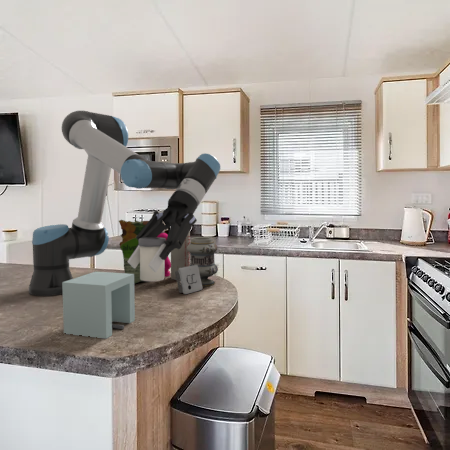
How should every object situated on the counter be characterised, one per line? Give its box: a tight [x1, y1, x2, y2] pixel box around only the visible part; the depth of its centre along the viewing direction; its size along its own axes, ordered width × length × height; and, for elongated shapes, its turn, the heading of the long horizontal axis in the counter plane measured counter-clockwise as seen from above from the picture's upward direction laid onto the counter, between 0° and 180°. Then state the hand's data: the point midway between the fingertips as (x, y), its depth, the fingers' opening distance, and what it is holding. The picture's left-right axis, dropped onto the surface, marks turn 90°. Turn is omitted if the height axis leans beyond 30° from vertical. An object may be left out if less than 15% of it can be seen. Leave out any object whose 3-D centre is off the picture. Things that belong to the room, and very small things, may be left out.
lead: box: [112, 323, 125, 330], centre depth 101 cm, size 17×1×1 cm, turn 75°
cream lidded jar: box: [139, 237, 166, 282], centre depth 95 cm, size 7×7×10 cm
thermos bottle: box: [170, 230, 191, 281], centre depth 158 cm, size 8×8×28 cm
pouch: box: [118, 219, 149, 284], centre depth 152 cm, size 11×12×25 cm
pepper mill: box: [157, 230, 171, 278], centre depth 163 cm, size 7×7×20 cm
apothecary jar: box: [187, 236, 219, 287], centre depth 149 cm, size 12×12×18 cm
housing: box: [62, 271, 136, 340], centre depth 100 cm, size 12×14×13 cm
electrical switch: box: [175, 265, 204, 295], centre depth 137 cm, size 9×5×9 cm, turn 141°
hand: (141, 266), depth 92 cm, fingers closed on cream lidded jar, 6 cm apart
